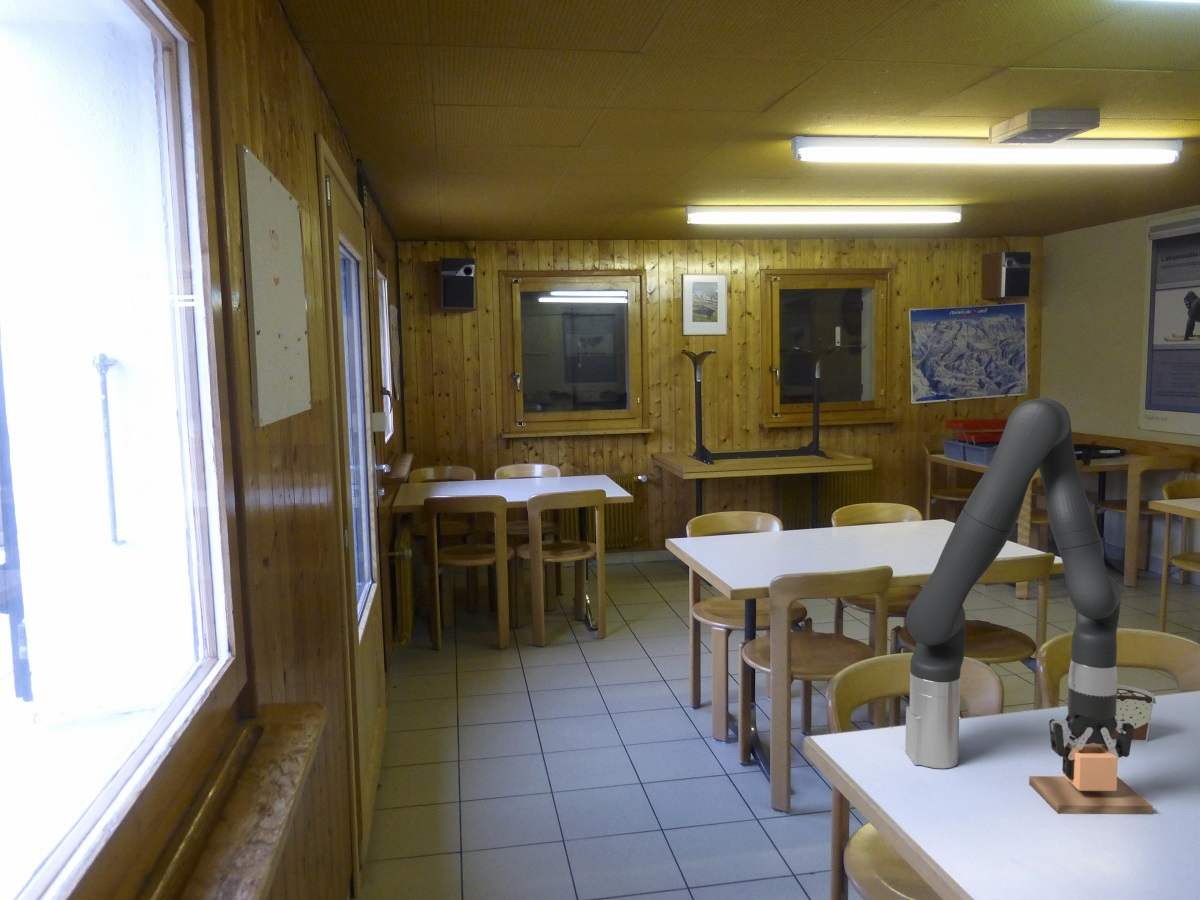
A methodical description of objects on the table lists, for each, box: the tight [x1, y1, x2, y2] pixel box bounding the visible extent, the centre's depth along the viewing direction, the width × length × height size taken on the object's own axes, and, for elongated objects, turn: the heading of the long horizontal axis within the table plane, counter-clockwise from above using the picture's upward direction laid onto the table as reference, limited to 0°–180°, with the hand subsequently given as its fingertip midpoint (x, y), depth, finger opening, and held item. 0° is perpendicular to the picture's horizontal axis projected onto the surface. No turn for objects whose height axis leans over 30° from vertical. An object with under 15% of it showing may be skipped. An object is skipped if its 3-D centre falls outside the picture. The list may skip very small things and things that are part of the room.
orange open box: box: [1061, 742, 1119, 791], centre depth 156 cm, size 6×6×6 cm
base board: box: [1028, 775, 1154, 815], centre depth 156 cm, size 16×11×6 cm
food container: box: [1110, 684, 1157, 743], centre depth 183 cm, size 12×6×10 cm, turn 84°
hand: (1089, 777), depth 156 cm, fingers closed on orange open box, 6 cm apart
